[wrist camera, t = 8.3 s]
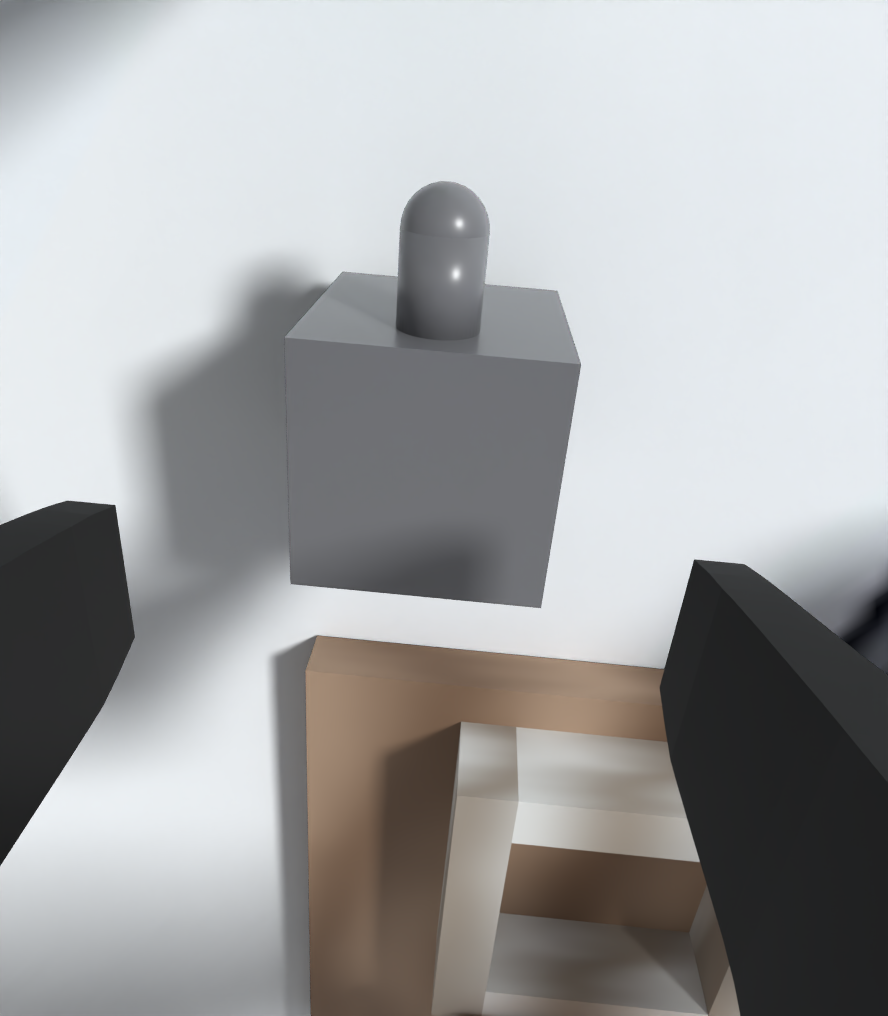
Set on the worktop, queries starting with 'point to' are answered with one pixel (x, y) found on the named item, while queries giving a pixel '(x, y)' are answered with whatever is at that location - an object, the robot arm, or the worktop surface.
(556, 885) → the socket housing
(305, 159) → the worktop surface
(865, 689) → the robot arm
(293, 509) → the plug
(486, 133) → the worktop surface
